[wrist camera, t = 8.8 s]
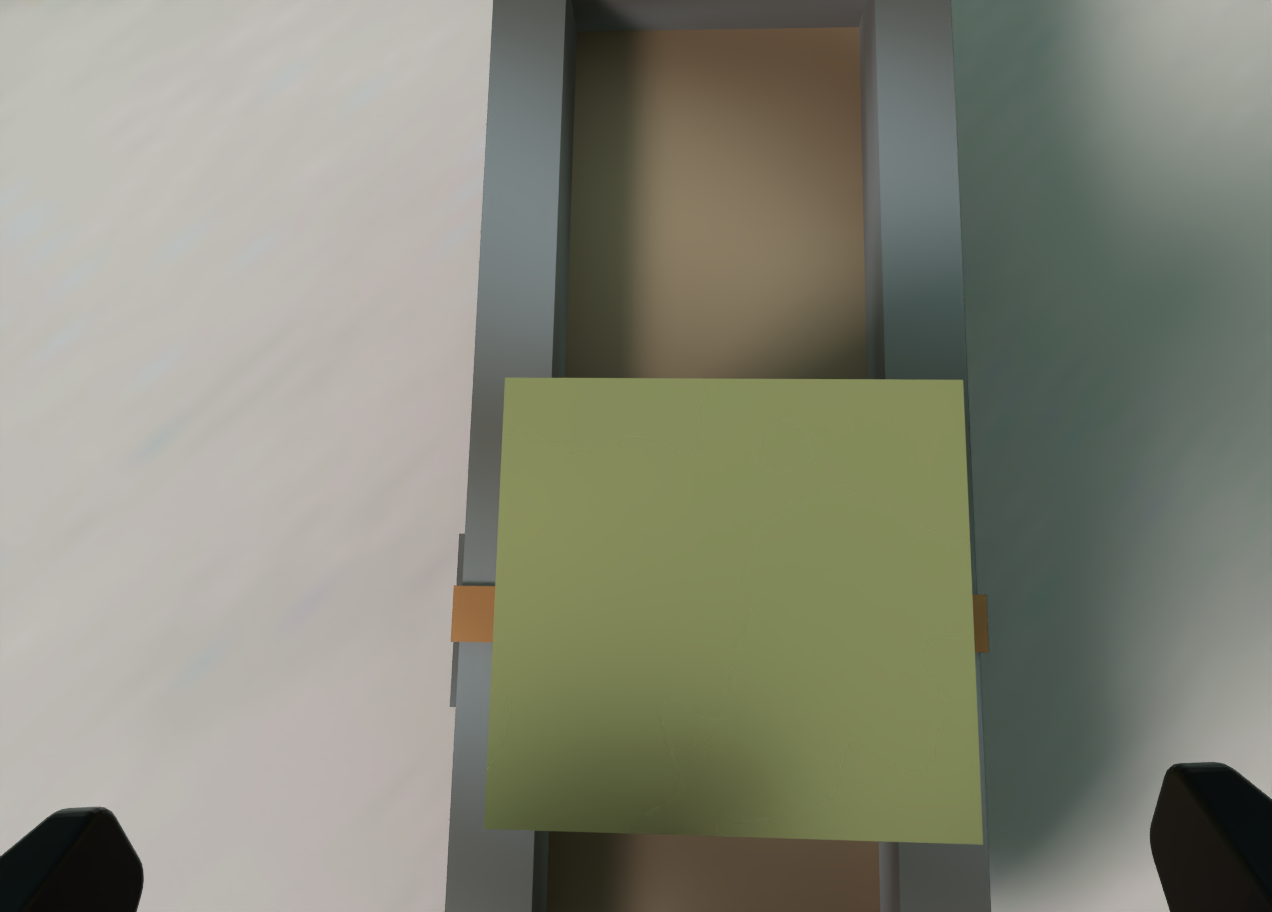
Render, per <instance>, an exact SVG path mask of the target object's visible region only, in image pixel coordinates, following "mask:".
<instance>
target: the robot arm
mask: <svg viewBox="0 0 1272 912" xmlns="http://www.w3.org/2000/svg"><path fill="white" fill-rule="evenodd" d="M1150 844H1151V850H1152V855H1153V859H1154V862H1155V865H1156V868H1157V872H1158V875H1159V878H1160V881H1161V884H1162V887H1163V891H1164V894H1165V897H1166V900H1167V903H1168V907H1169V910H1170V912H1272V799H1271V798H1270V797H1268V796H1267V795H1266V794H1265V793H1263V792H1262V791H1261V790H1260V789H1258V788H1257V787H1256V786H1255V785H1253V784H1252V783H1251V782H1250V781H1248V780H1247V779H1246V778H1245V777H1243V776H1242V775H1241V774H1240V773H1238V772H1237V771H1236V770H1234V769H1233V768H1231V767H1229V766H1227V765H1225V764H1222V763H1217V762H1202V763H1179V764H1174V765H1173V766H1171V767H1170V768H1169V769H1168V770H1167V772H1166V774H1165V777H1164V780H1163V784H1162V787H1161V791H1160V794H1159V798H1158V801H1157V805H1156V808H1155V812H1154V815H1153V819H1152V823H1151V828H1150ZM143 881H144V876H143V867H142V863H141V861H140V859H139V857H138V855H137V853H136V852H135V850H134V848H133V846H132V845H131V843H130V841H129V839H128V838H127V836H126V834H125V832H124V831H123V829H122V827H121V825H120V824H119V822H118V820H117V818H116V817H115V815H114V814H113V813H112V812H111V811H110V810H108V809H106V808H104V807H82V808H67V809H62V810H59V811H57V812H55V813H53V814H52V815H50V816H49V817H47V818H46V819H45V820H44V821H42V822H41V823H40V824H39V825H38V826H36V827H35V828H34V829H33V830H32V831H30V832H29V833H28V834H27V835H26V836H24V837H23V838H22V839H21V840H20V841H18V842H17V843H16V844H15V845H14V846H12V847H11V848H10V849H9V850H7V851H6V852H5V853H4V854H3V855H1V856H0V912H137V908H138V905H139V901H140V898H141V894H142V889H143Z"/></svg>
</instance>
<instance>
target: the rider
mask: <svg viewBox="0 0 1272 912" xmlns="http://www.w3.org/2000/svg"><path fill="white" fill-rule="evenodd" d="M484 829H504V830H535V831H567V832H598V833H630V834H662V835H693V836H725V837H757V838H788V839H820V840H851V841H883V842H915V843H946V844H978V845H983V830H982V807H981V784H980V760H979V737H978V714H977V691H976V668H975V645H974V622H973V598H972V575H971V552H970V529H969V506H968V483H967V460H966V437H965V413H964V390H963V380H900V379H698V378H505V389H504V410H503V431H502V453H501V474H500V496H499V517H498V538H497V560H496V581H495V602H494V624H493V645H492V667H491V688H490V709H489V731H488V752H487V773H486V795H485V816H484Z"/></svg>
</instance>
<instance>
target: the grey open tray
mask: <svg viewBox="0 0 1272 912" xmlns="http://www.w3.org/2000/svg"><path fill="white" fill-rule="evenodd" d="M505 378H698V379H900V380H963V390H964V413H965V437H966V460H967V483H968V506H969V529H970V552H971V575H972V598H973V622H974V645H975V668H976V691H977V714H978V737H979V760H980V784H981V807H982V830H983V845H978V844H946V843H915V842H883V841H851V840H820V839H788V838H757V837H725V836H693V835H662V834H630V833H598V832H567V831H535V830H504V829H484V816H485V795H486V773H487V752H488V731H489V709H490V688H491V667H492V645H493V624H494V602H495V581H496V560H497V538H498V517H499V496H500V474H501V453H502V431H503V410H504V389H505ZM451 642H453V660H452V679H451V697H450V707H456V714H455V733H454V752H453V771H452V790H451V808H450V827H449V846H448V865H447V884H446V903H445V912H991V899H990V876H989V854H988V831H987V808H986V786H985V763H984V740H983V718H982V695H981V672H980V652H982V653H989V643H988V621H987V599H986V595H977V582H976V559H975V536H974V514H973V491H972V468H971V446H970V423H969V400H968V378H967V355H966V332H965V310H964V287H963V264H962V242H961V219H960V196H959V174H958V151H957V128H956V106H955V83H954V60H953V38H952V15H951V0H493V16H492V35H491V54H490V73H489V92H488V110H487V129H486V148H485V167H484V186H483V205H482V224H481V242H480V261H479V280H478V299H477V318H476V337H475V356H474V375H473V393H472V412H471V431H470V450H469V469H468V488H467V507H466V525H465V534H459V550H458V568H457V586H454V593H453V612H452V630H451Z"/></svg>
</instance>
